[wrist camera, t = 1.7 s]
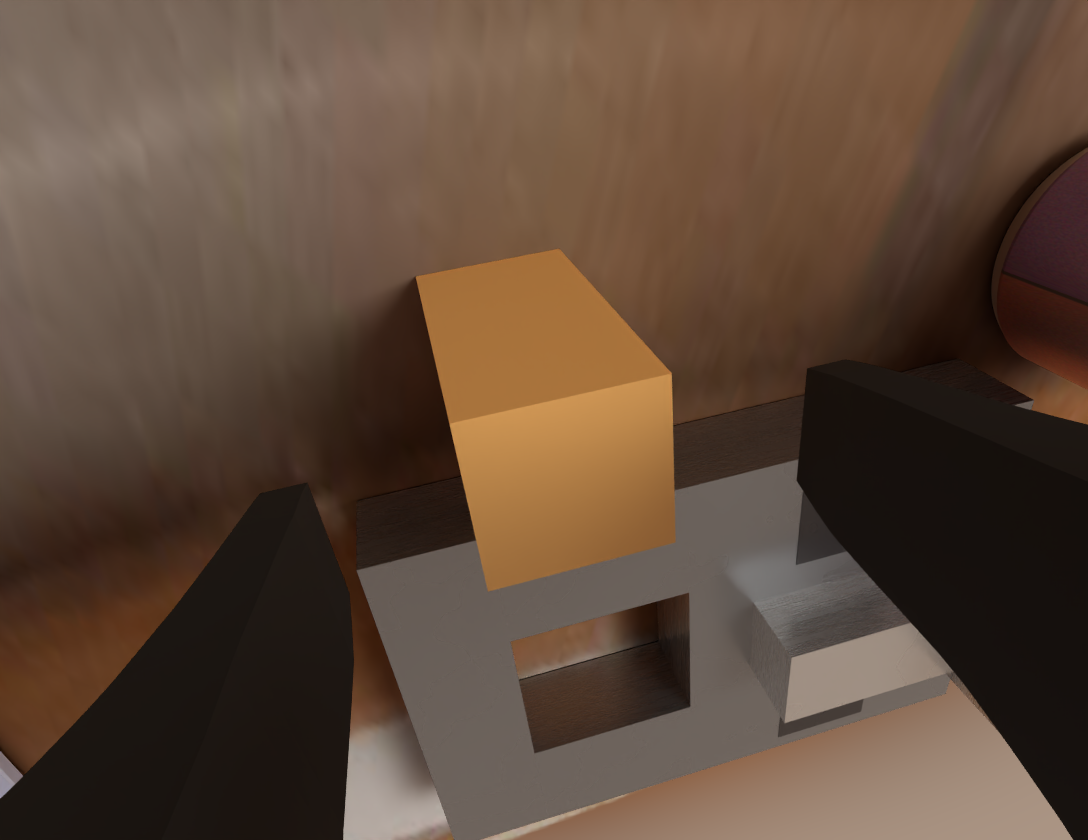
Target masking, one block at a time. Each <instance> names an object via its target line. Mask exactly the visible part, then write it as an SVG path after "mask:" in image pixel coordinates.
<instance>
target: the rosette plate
mask: <svg viewBox="0 0 1088 840" xmlns="http://www.w3.org/2000/svg"><path fill="white" fill-rule="evenodd" d="M901 373H904V374H908V375H911V376H915V377H918V378H922V379H925V380H929V381H932V382H935V383H939V384H942V385H946V386H949V387H953V388H956V389H959V390H963V391H966V392H969V393H973V394H976V395H980V396H983V397H987V398H990V399H994V400H997V401H1000V402H1004V403H1008V404H1011V405H1015V406H1018V407H1022V408H1025V409H1029V410H1031V409H1032V405H1033V402H1034V400H1033V399H1031V398H1029V397H1027V396H1025V395H1024V394H1022V393H1020V392H1018V391H1016V390H1015V389H1013V388H1011V387H1009V386H1007V385H1006V384H1004V383H1002V382H1000V381H998V380H997V379H995V378H993V377H991V376H989V375H987V374H986V373H984V372H982V371H980V370H978V369H977V368H975V367H973V366H971V365H969V364H968V363H966V362H964V361H962V360H960V359H959V358H958V359H954V360H950V361H946V362H942V363H937V364H933V365H929V366H925V367H920V368H916V369H912V370H908V371H904V372H901ZM804 397H805V395H802V396H798V397H794V398H790V399H786V400H781V401H777V402H773V403H769V404H765V405H760V406H756V407H752V408H748V409H743V410H739V411H735V412H731V413H727V414H722V415H718V416H714V417H710V418H705V419H701V420H697V421H693V422H689V423H684V424H680V425H676V426H673V449H674V492H675V535H676V543H672V544H668V545H664V546H660V547H657V548H653V549H649V550H645V551H641V552H638V553H634V554H630V555H626V556H622V557H618V558H615V559H611V560H607V561H603V562H599V563H596V564H592V565H588V566H584V567H580V568H576V569H573V570H569V571H565V572H561V573H557V574H554V575H550V576H546V577H542V578H538V579H534V580H531V581H527V582H523V583H519V584H515V585H512V586H508V587H504V588H500V589H496V590H492V591H489V592H488V589H487V585H486V581H485V576H484V572H483V568H482V563H481V559H480V555H479V550H478V546H477V542H476V537H475V533H474V529H473V524H472V520H471V516H470V511H469V507H468V503H467V498H466V494H465V490H464V485H463V481H462V477H457V478H453V479H448V480H444V481H440V482H436V483H431V484H427V485H423V486H419V487H415V488H410V489H406V490H402V491H398V492H394V493H389V494H385V495H381V496H377V497H372V498H368V499H364V500H360V501H357V573H358V576H359V579H360V581H361V584H362V587H363V590H364V592H365V595H366V598H367V601H368V603H369V606H370V609H371V612H372V615H373V617H374V620H375V623H376V626H377V628H378V631H379V634H380V637H381V639H382V642H383V645H384V648H385V650H386V653H387V656H388V659H389V661H390V664H391V667H392V670H393V672H394V675H395V678H396V681H397V683H398V686H399V689H400V692H401V694H402V697H403V700H404V703H405V705H406V708H407V711H408V714H409V716H410V719H411V722H412V725H413V727H414V730H415V733H416V736H417V739H418V741H419V744H420V747H421V750H422V752H423V755H424V758H425V761H426V763H427V766H428V769H429V772H430V774H431V777H432V780H433V783H434V785H435V788H436V791H437V794H438V796H439V799H440V802H441V805H442V807H443V810H444V813H445V816H446V818H447V821H448V824H449V827H450V829H451V832H452V835H453V838H454V840H480V839H484V838H487V837H490V836H493V835H496V834H500V833H503V832H506V831H509V830H512V829H516V828H519V827H522V826H525V825H528V824H532V823H535V822H538V821H541V820H544V819H547V818H551V817H554V816H557V815H560V814H563V813H567V812H570V811H573V810H576V809H579V808H583V807H586V806H589V805H592V804H595V803H599V802H602V801H605V800H608V799H611V798H615V797H618V796H621V795H624V794H627V793H630V792H634V791H637V790H640V789H643V788H646V787H650V786H653V785H656V784H659V783H662V782H666V781H668V780H672V779H675V778H678V777H682V776H685V775H688V774H691V773H694V772H698V771H701V770H704V769H707V768H710V767H713V766H717V765H720V764H723V763H726V762H729V761H732V760H736V759H739V758H742V757H745V756H748V755H752V754H755V753H758V752H761V751H764V750H767V749H771V748H774V747H777V746H781V745H784V744H787V743H790V742H793V741H796V740H800V739H803V738H806V737H809V736H812V735H816V734H819V733H822V732H825V731H828V730H831V729H835V728H838V727H841V726H844V725H848V724H850V723H854V722H857V721H860V720H863V719H867V718H869V717H873V716H876V715H879V714H883V713H886V712H889V711H892V710H895V709H899V708H902V707H905V706H908V705H911V704H915V703H917V702H921V701H924V700H927V699H930V698H934V697H937V696H940V695H943V694H946V690H947V687H948V684H949V681H950V678H949V677H948V676H947V675H946V674H942V675H939V676H936V677H933V678H930V679H926V680H923V681H920V682H917V683H913V684H910V685H907V686H904V687H900V688H897V689H894V690H891V691H887V692H884V693H881V694H878V695H874V696H871V697H868V698H865V699H861V700H858V701H855V702H852V703H848V704H845V705H842V706H839V707H836V708H832V709H829V710H826V711H823V712H819V713H816V714H813V715H810V716H806V717H803V718H800V719H797V720H793V721H790V722H787V723H784V722H783V720H782V718H781V717H780V715H779V713H778V712H777V710H776V708H775V707H774V705H773V704H772V702H771V700H770V699H769V697H768V695H767V694H766V692H765V691H764V689H763V687H762V686H761V684H760V682H759V681H758V679H757V677H756V676H755V674H754V673H753V671H752V669H751V668H750V656H751V639H752V623H753V606H754V602H758V601H762V600H765V599H769V598H772V597H776V596H779V595H783V594H787V593H790V592H794V591H797V590H801V589H804V588H808V587H812V586H815V585H819V584H822V583H826V582H829V581H833V580H836V579H840V578H844V577H847V576H851V575H854V574H858V573H861V572H865V571H864V570H863V569H862V568H861V567H860V566H859V565H858V563H857V562H856V561H855V560H854V559H853V558H852V557H851V555H850V554H849V553H848V552H847V551H846V550H845V549H844V548H843V546H842V545H841V544H840V543H839V542H838V541H837V539H836V538H835V537H834V536H833V535H832V533H831V532H830V531H829V529H828V528H827V526H826V525H825V523H824V522H823V521H822V519H821V518H820V516H819V515H818V513H817V512H816V510H815V509H814V507H813V506H812V504H811V503H810V501H809V500H808V498H807V496H806V495H805V493H804V492H803V490H802V489H801V487H800V485H799V484H798V482H797V481H796V480H797V469H798V459H799V449H800V438H801V428H802V418H803V407H804ZM656 601H657V622H658V642H654V643H651V644H647V645H644V646H640V647H637V648H633V649H630V650H626V651H622V652H619V653H615V654H612V655H608V656H605V657H601V658H598V659H594V660H591V661H587V662H584V663H580V664H576V665H573V666H569V667H566V668H562V669H559V670H555V671H552V672H548V673H545V674H541V675H538V676H534V677H531V678H527V679H523V680H520V681H519V680H518V675H517V670H516V666H515V661H514V656H513V652H512V647H511V642H510V641H514V640H518V639H521V638H525V637H529V636H532V635H536V634H540V633H543V632H547V631H550V630H554V629H558V628H561V627H565V626H569V625H572V624H576V623H580V622H583V621H587V620H591V619H594V618H598V617H602V616H605V615H609V614H613V613H616V612H620V611H623V610H627V609H631V608H634V607H638V606H642V605H645V604H649V603H653V602H656Z"/></svg>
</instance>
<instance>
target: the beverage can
mask: <svg viewBox="0 0 1088 840" xmlns="http://www.w3.org/2000/svg"><path fill="white" fill-rule="evenodd" d="M991 297H992V305H993V309H994V313H995V316H996V319H997V322H998V324H999V326H1000V328H1001V330H1002V332H1003V334H1004V336H1005V338H1006V340H1007V342H1008V343H1009V345H1010V346H1011V347H1012V348H1013V350H1014V351H1015V352H1017V353H1018V354H1019V355H1020V356H1022V357H1023V358H1025V359H1027V360H1029V361H1031V362H1033V363H1035V364H1037V365H1039V366H1041V367H1043V368H1045V369H1047V370H1049V371H1051V372H1053V373H1055V374H1057V375H1059V376H1061V377H1063V378H1065V379H1067V380H1069V381H1071V382H1073V383H1075V384H1077V385H1079V386H1081V387H1083V388H1085V389H1087V390H1088V148H1086V149H1084V150H1082V151H1081V152H1079V153H1077V154H1076V155H1074V156H1073V157H1072V158H1070V159H1069V160H1067V161H1066V162H1065V163H1063V164H1062V165H1061V166H1060V167H1058V168H1057V169H1056V170H1055V171H1054V172H1053V173H1052V174H1050V175H1049V176H1048V177H1047V178H1046V179H1045V180H1044V181H1043V182H1042V183H1041V184H1040V185H1039V186H1038V187H1037V189H1036V190H1035V191H1034V192H1033V193H1032V194H1031V196H1030V197H1029V198H1028V199H1027V201H1026V202H1025V203H1024V205H1023V206H1022V208H1021V209H1020V210H1019V212H1018V213H1017V215H1016V217H1015V218H1014V220H1013V221H1012V223H1011V225H1010V227H1009V229H1008V231H1007V233H1006V235H1005V237H1004V239H1003V241H1002V243H1001V246H1000V249H999V251H998V254H997V257H996V261H995V265H994V269H993V275H992V284H991Z"/></svg>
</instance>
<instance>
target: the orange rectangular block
mask: <svg viewBox="0 0 1088 840" xmlns="http://www.w3.org/2000/svg"><path fill="white" fill-rule="evenodd" d="M416 280H417V285H418V289H419V293H420V298H421V302H422V307H423V311H424V315H425V320H426V324H427V328H428V333H429V337H430V341H431V346H432V350H433V355H434V359H435V363H436V368H437V372H438V376H439V381H440V385H441V390H442V394H443V398H444V403H445V407H446V411H447V416H448V420H449V424H450V429H451V433H452V437H453V442H454V446H455V450H456V455H457V459H458V463H459V468H460V472H461V477H462V481H463V485H464V490H465V494H466V498H467V503H468V507H469V511H470V516H471V520H472V524H473V529H474V533H475V537H476V542H477V546H478V550H479V555H480V559H481V563H482V568H483V572H484V576H485V581H486V585H487V589H488V592H489V591H492V590H496V589H500V588H504V587H508V586H512V585H515V584H519V583H523V582H527V581H531V580H534V579H538V578H542V577H546V576H550V575H554V574H557V573H561V572H565V571H569V570H573V569H576V568H580V567H584V566H588V565H592V564H596V563H599V562H603V561H607V560H611V559H615V558H618V557H622V556H626V555H630V554H634V553H638V552H641V551H645V550H649V549H653V548H657V547H660V546H664V545H668V544H672V543H676V535H675V492H674V449H673V406H672V373H671V372H670V371H669V370H668V369H667V368H666V367H665V366H664V364H663V363H662V362H661V361H660V360H659V359H658V358H657V357H656V356H655V354H654V353H653V352H652V351H651V350H650V349H649V348H648V347H647V346H646V344H645V343H644V342H643V341H642V340H641V339H640V338H639V337H638V336H637V335H636V333H635V332H634V331H633V330H632V329H631V328H630V327H629V326H628V325H627V323H626V322H625V321H624V320H623V319H622V318H621V317H620V316H619V315H618V313H617V312H616V311H615V310H614V309H613V308H612V307H611V306H610V305H609V303H608V302H607V301H606V300H605V299H604V298H603V297H602V296H601V295H600V294H599V292H598V291H597V290H596V289H595V288H594V287H593V286H592V285H591V284H590V282H589V281H588V280H587V279H586V278H585V277H584V276H583V275H582V274H581V272H580V271H579V270H578V269H577V268H576V267H575V266H574V265H573V264H572V262H571V261H570V260H569V259H568V258H567V257H566V256H565V255H564V254H563V252H562V251H561V250H560V249H555V250H550V251H544V252H539V253H534V254H529V255H524V256H519V257H513V258H508V259H503V260H498V261H493V262H488V263H483V264H477V265H472V266H467V267H462V268H457V269H452V270H446V271H441V272H436V273H431V274H426V275H421V276H416Z"/></svg>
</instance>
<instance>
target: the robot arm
mask: <svg viewBox="0 0 1088 840" xmlns="http://www.w3.org/2000/svg"><path fill="white" fill-rule="evenodd" d="M796 481H797V482H798V484H799V485H800V487H801V489H802V490H803V492H804V493H805V495H806V496H807V498H808V500H809V501H810V503H811V504H812V506H813V507H814V509H815V510H816V512H817V513H818V515H819V516H820V518H821V519H822V521H823V522H824V523H825V525H826V526H827V528H828V529H829V531H830V532H831V533H832V535H833V536H834V537H835V538H836V539H837V541H838V542H839V543H840V544H841V545H842V546H843V548H844V549H845V550H846V551H847V552H848V553H849V554H850V555H851V557H852V558H853V559H854V560H855V561H856V562H857V563H858V565H859V566H860V567H861V568H862V569H863V570H864V571H865V572H866V574H867V575H868V576H869V577H870V578H871V579H872V580H873V581H874V583H875V584H876V585H877V586H878V587H879V588H880V589H881V590H882V591H883V592H884V594H885V595H886V596H887V597H888V598H889V599H890V600H891V601H892V602H893V604H894V605H895V606H896V607H897V608H898V609H899V610H900V611H901V612H902V614H903V615H904V616H905V617H906V618H907V619H908V620H909V621H910V622H911V624H912V625H913V626H914V627H915V628H916V629H917V630H918V631H919V632H920V634H921V635H922V636H923V637H924V638H925V639H926V640H927V641H928V642H929V643H930V645H931V646H932V647H933V648H934V649H935V650H936V651H937V652H938V654H939V655H940V656H941V657H942V658H943V660H944V661H945V662H946V663H947V664H948V666H949V667H950V668H951V669H952V670H953V672H954V673H955V674H956V675H957V676H958V678H959V679H960V680H961V681H962V683H963V684H964V685H965V687H966V688H967V689H968V691H969V692H970V693H971V695H972V696H973V697H974V699H975V700H976V701H977V703H978V704H979V706H980V707H981V708H982V710H983V711H984V712H985V714H986V715H987V716H988V718H989V719H990V720H991V722H992V723H993V725H994V726H995V727H996V729H997V730H998V731H999V733H1000V734H1001V735H1002V737H1003V738H1004V739H1005V741H1006V742H1007V744H1008V745H1009V746H1010V748H1011V749H1012V751H1013V752H1014V753H1015V755H1016V756H1017V758H1018V759H1019V761H1020V762H1021V763H1022V765H1023V766H1024V768H1025V769H1026V771H1027V772H1028V773H1029V775H1030V777H1031V778H1032V779H1033V781H1034V782H1035V784H1036V785H1037V787H1038V788H1039V789H1040V791H1041V792H1042V794H1043V795H1044V797H1045V798H1046V800H1047V801H1048V803H1049V804H1050V805H1051V807H1052V808H1053V810H1054V811H1055V813H1056V814H1057V816H1058V817H1059V818H1060V820H1061V821H1062V823H1063V825H1064V826H1065V828H1066V829H1067V831H1068V832H1069V834H1070V835H1071V837H1072V838H1073V840H1088V425H1087V424H1083V423H1079V422H1075V421H1071V420H1067V419H1063V418H1059V417H1055V416H1051V415H1047V414H1044V413H1040V412H1036V411H1033V410H1029V409H1025V408H1022V407H1018V406H1015V405H1011V404H1008V403H1004V402H1000V401H997V400H994V399H990V398H987V397H983V396H980V395H976V394H973V393H969V392H966V391H963V390H959V389H956V388H953V387H949V386H946V385H942V384H939V383H935V382H932V381H929V380H925V379H922V378H918V377H915V376H911V375H908V374H904V373H901V372H897V371H893V370H890V369H886V368H882V367H878V366H874V365H870V364H865V363H861V362H856V361H850V360H842V361H837V362H833V363H829V364H824V365H820V366H815V367H811V368H807V376H806V387H805V397H804V407H803V418H802V428H801V438H800V449H799V459H798V469H797V480H796ZM353 668H354V655H353V637H352V621H351V608H350V595H349V591H348V588H347V586H346V583H345V580H344V578H343V575H342V573H341V570H340V567H339V565H338V562H337V559H336V557H335V554H334V552H333V549H332V546H331V544H330V541H329V538H328V536H327V533H326V530H325V528H324V525H323V523H322V520H321V517H320V515H319V512H318V509H317V507H316V504H315V502H314V499H313V496H312V494H311V491H310V488H309V486H308V483H304V484H299V485H295V486H291V487H286V488H282V489H277V490H273V491H269V492H264V493H260V494H259V496H258V497H257V498H256V499H255V501H254V502H253V503H252V505H251V506H250V507H249V509H248V510H247V511H246V513H245V514H244V515H243V517H242V518H241V519H240V521H239V522H238V524H237V525H236V526H235V528H234V529H233V530H232V532H231V533H230V535H229V536H228V537H227V539H226V540H225V541H224V543H223V544H222V545H221V547H220V548H219V550H218V551H217V552H216V554H215V555H214V556H213V558H212V559H211V560H210V562H209V563H208V564H207V566H206V567H205V568H204V570H203V571H202V572H201V574H200V575H199V576H198V578H197V579H196V580H195V581H194V583H193V584H192V585H191V587H190V588H189V589H188V591H187V592H186V593H185V595H184V596H183V597H182V599H181V600H180V601H179V603H178V604H177V605H176V606H175V608H174V609H173V610H172V611H171V613H170V614H169V615H168V616H167V617H166V619H165V620H164V621H163V622H162V623H161V625H160V626H159V627H158V628H157V629H156V631H155V632H154V633H153V634H152V635H151V637H150V638H149V639H148V640H147V641H146V643H145V644H144V645H143V646H142V647H141V649H140V650H139V651H138V652H137V653H136V655H135V656H134V657H133V658H132V659H131V661H130V662H129V663H128V664H127V665H126V667H125V668H124V669H123V670H122V671H121V673H120V674H119V675H118V676H117V677H116V679H115V680H114V681H113V682H112V683H111V684H110V685H109V687H108V688H107V689H106V690H105V691H104V692H103V693H102V694H101V695H100V697H99V698H98V699H97V700H96V701H95V702H94V703H93V704H92V705H91V706H90V708H89V709H88V710H87V711H86V712H85V713H84V714H83V715H82V716H81V717H80V718H79V719H78V720H77V722H76V723H75V724H74V725H73V726H72V727H71V728H70V729H69V730H68V731H67V732H66V733H65V734H64V735H63V736H62V737H61V738H60V739H59V740H58V741H57V742H56V743H55V744H54V745H53V746H52V747H51V748H50V749H49V750H48V751H47V752H46V754H45V755H44V756H43V757H42V758H41V759H40V760H39V761H38V762H37V763H36V764H35V765H34V766H33V767H32V768H31V769H30V770H29V771H28V772H27V773H26V774H25V775H24V776H23V775H22V774H21V773H20V772H19V771H18V770H17V769H16V768H15V767H14V765H13V764H12V763H11V762H10V761H9V760H8V759H7V758H6V757H5V756H4V755H3V753H2V752H1V751H0V840H343V828H344V813H345V797H346V782H347V766H348V751H349V736H350V720H351V703H352V686H353Z"/></svg>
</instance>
